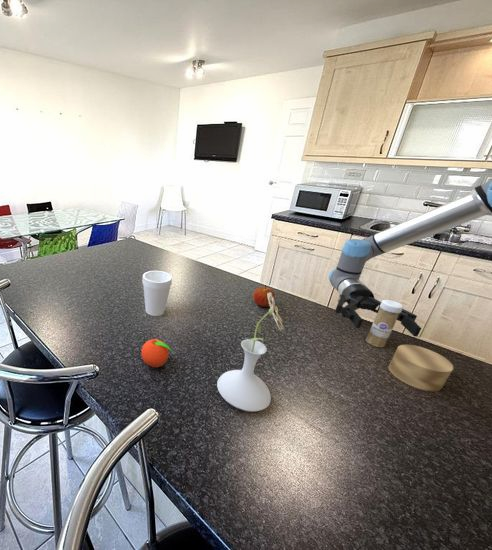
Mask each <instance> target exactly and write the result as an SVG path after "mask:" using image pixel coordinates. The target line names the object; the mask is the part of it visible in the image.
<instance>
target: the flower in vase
mask: <svg viewBox="0 0 492 550" xmlns="http://www.w3.org/2000/svg"><path fill="white" fill-rule="evenodd" d="M267 296H268V301H269V305H270V306H269V309H268V311H267V312H266V313H265V314H264V315H263V316H262V317H261V319H259V320H257V322H256V327H255V329H254V335H253V338H247V339H244V340H243V339H242V341H241V342H240V346H241V348H242V349H243V353H244V359H243V360H244V361H243V365H242V368H241V369H231V370H228V371H225V372H223V373H222V374H221V375H220V376H219V378H218V379H217V382H216V387H217V390H218V392H219V394H220V396H221V397H222V399H223V400H224V401H225V402H226V403H227V404H229V405H230V406H232V407H234V408H236V409H238V410H241V411H244V412H250V413H251V412H252V413H253V412H259V411H263V410H265V409H267V408H268V407H269V405H270V404H271V402H272V401H271V400H272V398H271V397H272V396H271V392H270V389H269V387H268V386H267V384H266V383H265V382H264V381H263V380H262V379H261V378H260V377H259V376H257V375H256V374H255V367H256V364H257V362H258V360H259V359H260V358H261V356H262V355H265V354H266V353H267V351H268V348H267V346H266V345H265V344H264V343H263V342H261V341H264V338H263V337H257V332H258V334H261V333H262V325H261V323H262V322H263V321H264V319H265V318H266V317H267V316H268V315H271V316H273V319H274V322H275V323H276V326H277V328H278V329H279V331H280V332H281V331H283V330H284V329H285V327H284V325H283V323H282V322H283V319H282V317H281V316H280V314H279V308H278V306H277V305H276V303H275V299H274V297H272V293H270V292H269V293H267Z"/></svg>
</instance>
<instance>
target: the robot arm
mask: <svg viewBox="0 0 492 550" xmlns="http://www.w3.org/2000/svg"><path fill="white" fill-rule="evenodd" d="M485 216H491V217H492V179H490V180H488V181H486V182H484V183H481V184H479V185H478V186H475V187H473V188H472V190H471V192H470V193H468V194H465V195H463V196H461V197H458V198H456V199H454V200H451V201H449V202H446V203H444V204H442V205H440V206H437V207H435V208H432V209H430V210H428V211H426V212H423V213H421V214H418V215H417V216H414V217H412V218H409V219H408V220H405V221H403V222H401V223H398V224H396V225H394V226H391V227H388V228H386V229H383V230H382V231H380V232H377V233H375V234H373V235H371V236H368V237H365V238H361V239H359V238H349V239H346V241H345V242H344V245H343V246H342V248H341V253H340V256H339V260H338V262H337V265H336V268H334V269H332V270H331V271H330V272H329V274H328V280H329V283H330V285H331V286H332V287H333V288H334V289H335V290H336V291H337V293H338V294H339V295H338V298H337V305H336V307H335V310H334V312H335V313H337V314H340V313H341V317H342V318H346V319H348V320H349V321H351V323H352V324H353V325H354V327H355V328H356V329H360V328H361V326H362V323H363V318H362V317H361V316H360V315H359V314H358V313H357V310H359V309H360V310H367V311H371V312H373V313H376V314H377V313H378V311H379V309H380V304H381V302H382V301H380V300H379V299H376V298H375V295H374V293H373V291H372V290H371V289H370V288H369V287H368V286H367V285H366V284H364V282H362V281H361V280H360V278H361V276H362V272H363V270H364V268H365V265H366V263H367V262H368V261H370V260H371V259H373V258H376V257H379V256H381V255H383V254H386V253H389V252H391V251H394V250H397V249H400V248H401V247H405V246H408V245H410V244H412V243H415V242H418V241H421V240H424V239H427V238H429V237H431V236H434V235H436V234H440V233H442V232H445V231H448V230H450V229H453V228H455V227H458V226H460V225H463V224H466V223H470V222H472V221H473V220H477V219H480V218H482V217H485ZM346 303H347V305H345V306H344V304H346ZM417 317H418V315H416V314H415V313H413V312H410V311H409V310H407V309H405V308H403V309H402V311H401V313H400V314H399V316H398V318H397V320H396V321H399V322H400V325H401V326H403V327H404V328H405V330H407V331H408V332H409V333H410V334H411V335H412V336H413V337H417V338H418V336H419V334H420V332H421V331H422V327H421V326H420V325H418V323H417V322H416V320H417Z"/></svg>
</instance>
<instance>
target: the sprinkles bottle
mask: <svg viewBox="0 0 492 550" xmlns="http://www.w3.org/2000/svg"><path fill="white" fill-rule="evenodd" d="M380 302H381V304H380V309H379V311H378V313H376V315H375V317H374V319H373V322H372V324H371V327H370V329H369V332H368V334H367V336H366V337H365V341H366V343H367V344H369V345H370V346H373V347H376V348H384V347H386V343H387V341H388V339H389V338H390V336H391V334H392V331H393V329H394V327H395V325H396V322H397V321H398V320H397V318H398V316H399V314H400V313H401V311H402V309H404V305H403V304H401V303H400V302H398V301H395V300H392V299H383V300H381V301H380Z"/></svg>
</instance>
